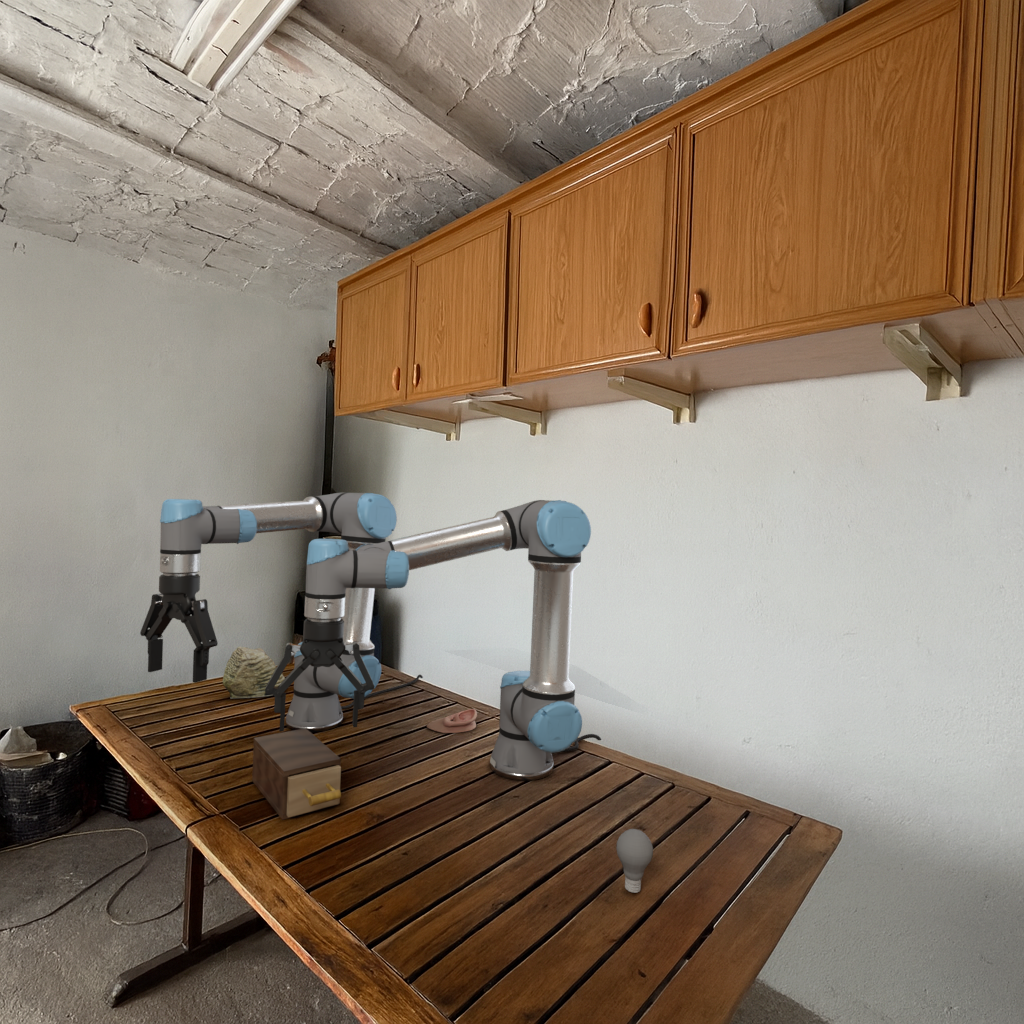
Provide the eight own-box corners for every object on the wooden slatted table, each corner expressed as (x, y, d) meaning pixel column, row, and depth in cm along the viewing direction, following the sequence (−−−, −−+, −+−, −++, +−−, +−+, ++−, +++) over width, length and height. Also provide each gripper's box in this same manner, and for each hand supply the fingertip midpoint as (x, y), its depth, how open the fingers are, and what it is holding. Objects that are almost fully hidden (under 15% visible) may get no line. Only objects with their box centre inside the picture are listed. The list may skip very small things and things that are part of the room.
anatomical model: (423, 716, 174) (436, 703, 185) (422, 730, 174) (436, 716, 185) (470, 721, 171) (480, 708, 182) (469, 736, 171) (480, 722, 182)
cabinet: (338, 804, 131) (340, 758, 131) (282, 820, 124) (284, 771, 123) (304, 769, 147) (305, 728, 147) (252, 781, 140) (253, 737, 139)
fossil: (218, 695, 195) (220, 647, 195) (278, 685, 208) (279, 640, 207) (228, 703, 189) (230, 653, 188) (289, 692, 201) (290, 645, 201)
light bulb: (610, 879, 108) (613, 822, 108) (644, 879, 109) (647, 822, 109) (619, 902, 102) (622, 840, 102) (655, 901, 103) (658, 840, 103)
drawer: (351, 815, 125) (352, 777, 125) (298, 830, 118) (300, 790, 118) (306, 770, 144) (307, 737, 144) (259, 781, 138) (260, 746, 137)
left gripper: (123, 570, 133) (120, 670, 133) (206, 581, 122) (203, 690, 123) (156, 567, 140) (153, 662, 140) (238, 577, 129) (235, 680, 129)
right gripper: (253, 622, 116) (248, 737, 116) (391, 621, 123) (385, 730, 124) (257, 614, 123) (251, 723, 123) (387, 614, 130) (381, 717, 131)
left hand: (176, 675), depth 131 cm, fingers open, 13 cm apart
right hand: (318, 727), depth 123 cm, fingers open, 13 cm apart
